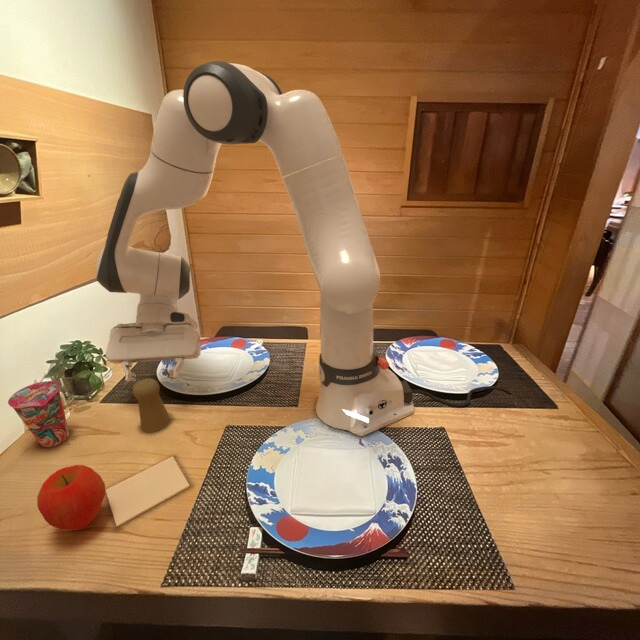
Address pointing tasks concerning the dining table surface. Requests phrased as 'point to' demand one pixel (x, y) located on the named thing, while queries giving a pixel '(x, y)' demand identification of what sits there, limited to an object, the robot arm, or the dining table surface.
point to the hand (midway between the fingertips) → (152, 380)
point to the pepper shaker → (150, 406)
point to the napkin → (145, 490)
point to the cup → (42, 412)
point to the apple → (71, 497)
